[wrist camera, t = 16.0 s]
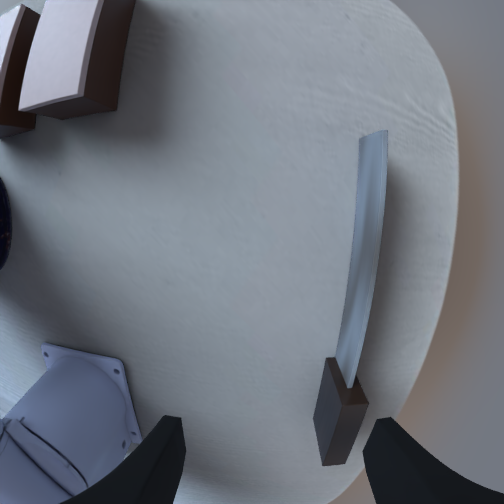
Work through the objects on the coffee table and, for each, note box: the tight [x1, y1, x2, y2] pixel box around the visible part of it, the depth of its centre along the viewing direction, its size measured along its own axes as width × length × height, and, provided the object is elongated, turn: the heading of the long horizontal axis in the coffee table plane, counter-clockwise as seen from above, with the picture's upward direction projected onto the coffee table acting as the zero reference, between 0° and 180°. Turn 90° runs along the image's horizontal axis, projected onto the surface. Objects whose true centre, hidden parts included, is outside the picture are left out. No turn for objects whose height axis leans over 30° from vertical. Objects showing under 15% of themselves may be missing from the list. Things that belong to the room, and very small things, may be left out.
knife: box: [313, 130, 388, 466], centre depth 15 cm, size 20×2×5 cm, turn 178°
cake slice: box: [18, 0, 136, 120], centre depth 12 cm, size 9×4×5 cm, turn 178°
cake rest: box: [0, 4, 41, 139], centre depth 12 cm, size 9×4×5 cm, turn 178°
